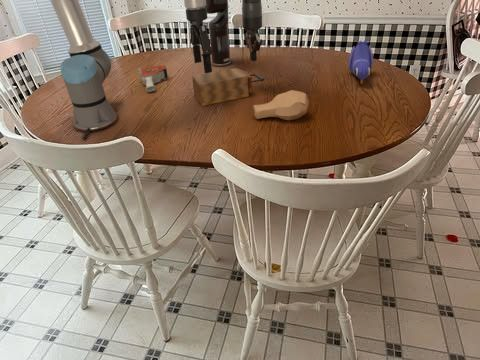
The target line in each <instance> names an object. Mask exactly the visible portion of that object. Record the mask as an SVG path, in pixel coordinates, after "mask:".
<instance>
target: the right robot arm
mask: <svg viewBox="0 0 480 360" xmlns="http://www.w3.org/2000/svg"><path fill="white" fill-rule="evenodd" d="M262 5H263V4H262V0H241V19H242V21H241V22H242V29H244V30H246V31H245V32H246V33H244V34H243V37H244V40H245V44H246V47H247V49H248V51H249V60H250V61H251V62H257V59H258V58H257V57H258V55H257V52H259V51H260V50H261V46H262V43H263V39H262V38H261V39H260V30H259V29H262V28H263V6H262ZM205 7H206V8H207V15H208V14H209V15H213V14H216V15H215V17H214V18H213V19H211V20H210V21H208V35H209V42H210V46H211V51H212V54H211V66H215V67H225V66H229V65H230V64H231V63H232V61H231V51H230V35H229V0H206V6H205Z"/></svg>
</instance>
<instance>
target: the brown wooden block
mask: <svg viewBox="0 0 480 360" xmlns="http://www.w3.org/2000/svg"><path fill="white" fill-rule="evenodd" d="M241 70H242V69H240V68H239V67H235V68H234V67H233V68H230V69H224V70H219V71H212V72H210V73H202V74H195V75H192V76H191V79H192V87H193V93H194V94H193V95H194V97H195V99H196V100H197V101H198V102H199V104H200V105H201V106H202V107H204V106H208V105H214V104H219V103H222V102H228V101H231V100H232V101H233V100H237V99H242V98H247V97H249V96H250V93H249V90H248V76H247V75H246V74H245V73H244V72H242V71H241Z"/></svg>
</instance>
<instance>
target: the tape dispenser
mask: <svg viewBox="0 0 480 360" xmlns="http://www.w3.org/2000/svg"><path fill="white" fill-rule="evenodd" d="M153 69H154V70H153ZM137 71H138V73H139V77H140V79H141V82H142V84H143V85H144V86H146V87H145V91H146V92H147V93H152V92H154V91H156V86H155V84H157V83H160V82H161V81H162V80H163V81H164V80H168V77H169V75H168V70H167V67H166V65H165V64H164V65H162V64H161V65H156V66H150V67H143V68H142V67H140V68H138V70H137Z"/></svg>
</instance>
